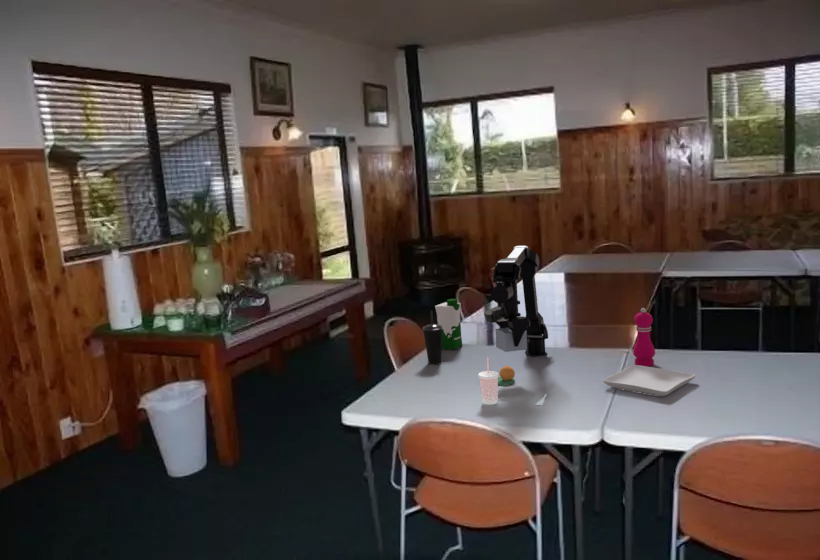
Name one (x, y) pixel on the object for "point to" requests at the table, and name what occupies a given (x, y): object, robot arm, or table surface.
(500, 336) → the grey block
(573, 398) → the table surface
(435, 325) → the drinking cup
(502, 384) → the disc
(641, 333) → the pepper mill
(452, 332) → the milk carton
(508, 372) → the ball
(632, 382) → the salad plate
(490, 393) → the beverage cup
